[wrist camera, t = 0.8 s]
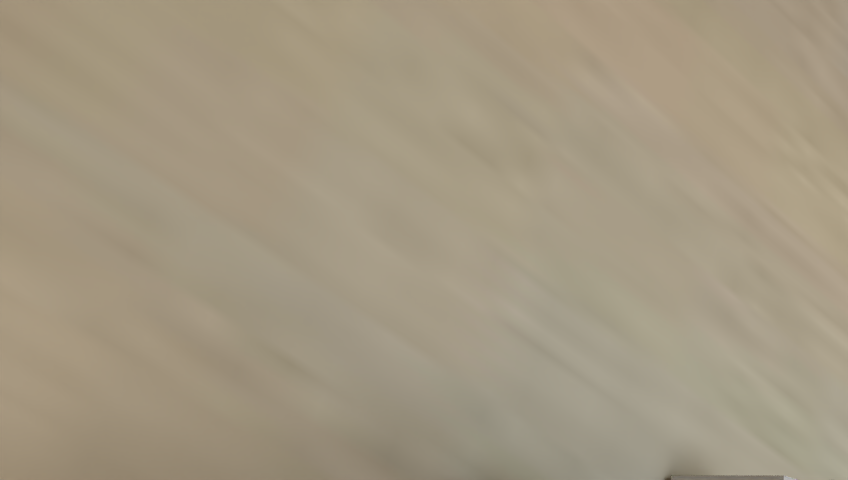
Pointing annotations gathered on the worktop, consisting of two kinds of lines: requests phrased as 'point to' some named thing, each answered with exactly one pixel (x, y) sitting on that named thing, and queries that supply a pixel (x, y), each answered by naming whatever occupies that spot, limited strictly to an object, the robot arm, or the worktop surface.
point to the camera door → (730, 477)
